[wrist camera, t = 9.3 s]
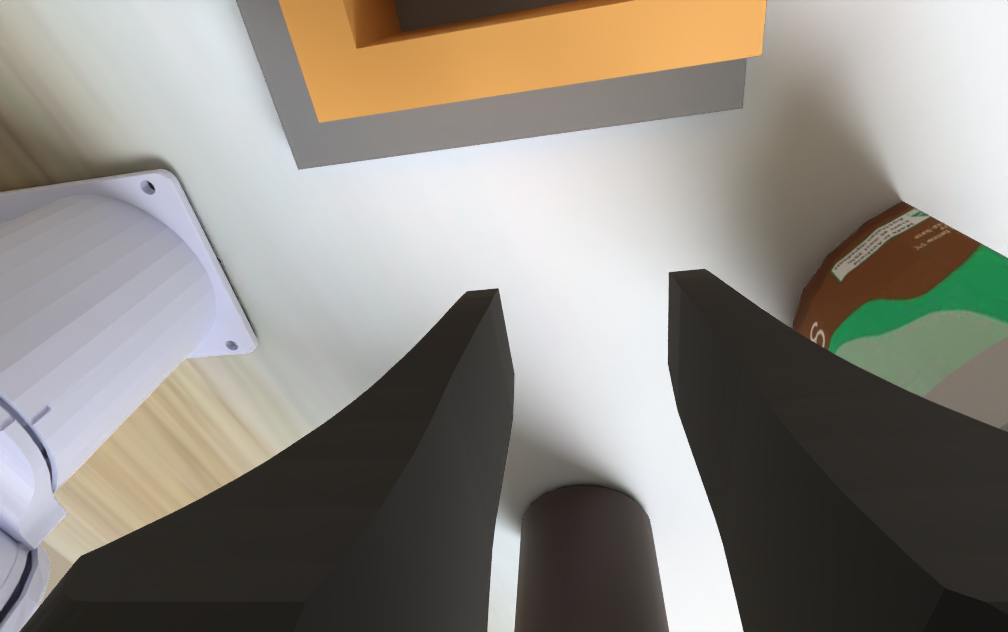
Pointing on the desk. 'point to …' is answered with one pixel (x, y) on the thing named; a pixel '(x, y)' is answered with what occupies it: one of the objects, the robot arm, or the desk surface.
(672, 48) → the link
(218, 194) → the desk surface
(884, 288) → the food container
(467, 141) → the plate
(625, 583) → the vinegar
